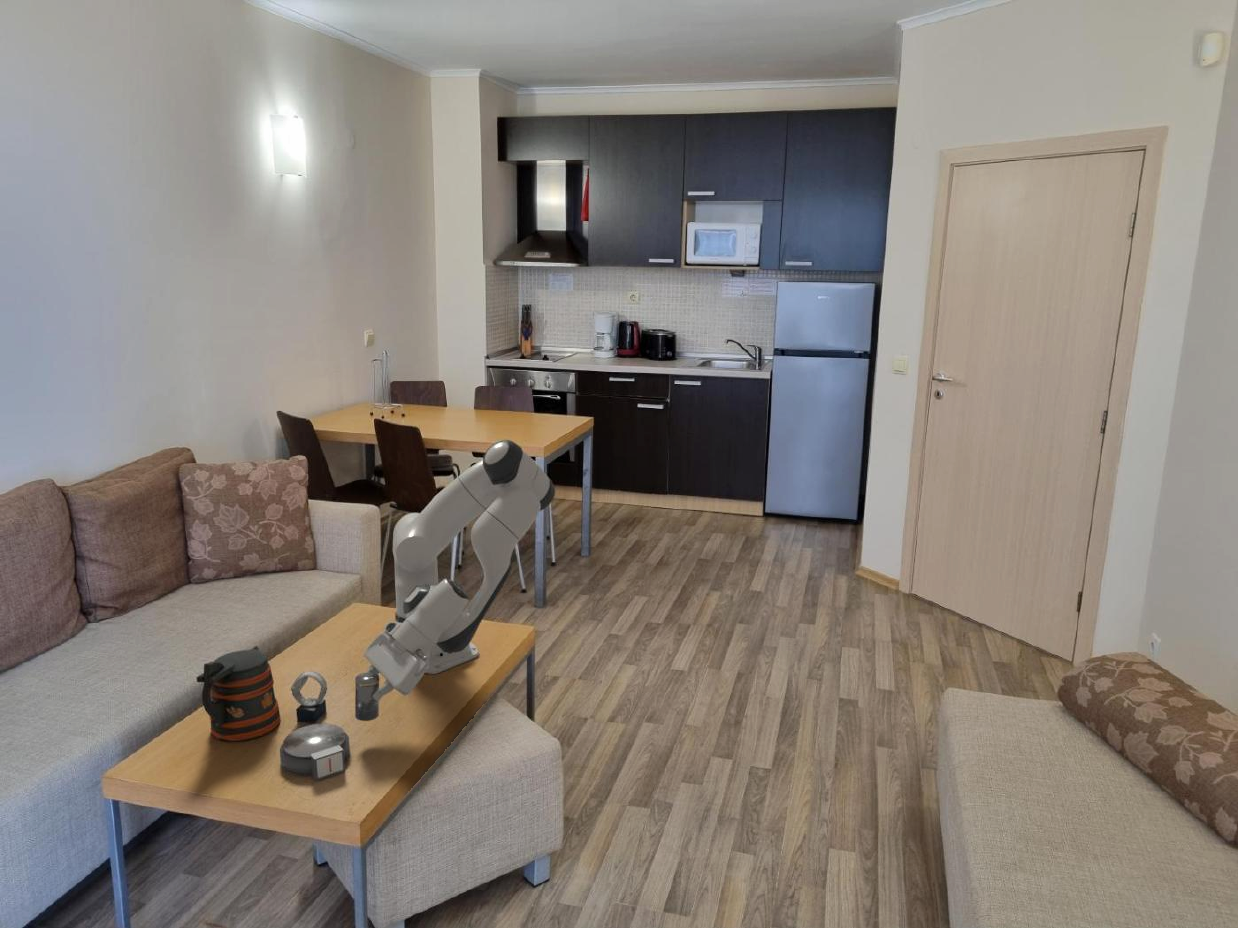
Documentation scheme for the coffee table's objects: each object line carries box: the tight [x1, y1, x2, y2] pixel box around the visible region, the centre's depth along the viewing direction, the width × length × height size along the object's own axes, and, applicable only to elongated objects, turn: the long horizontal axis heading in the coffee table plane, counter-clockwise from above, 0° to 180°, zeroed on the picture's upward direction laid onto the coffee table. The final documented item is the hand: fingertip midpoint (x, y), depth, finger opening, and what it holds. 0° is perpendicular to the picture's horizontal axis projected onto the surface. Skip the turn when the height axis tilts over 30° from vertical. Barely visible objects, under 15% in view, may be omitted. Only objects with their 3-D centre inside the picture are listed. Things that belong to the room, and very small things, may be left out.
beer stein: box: [196, 645, 282, 742], centre depth 196 cm, size 19×15×20 cm
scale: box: [279, 732, 351, 782], centre depth 186 cm, size 14×16×5 cm
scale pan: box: [282, 723, 346, 758], centre depth 187 cm, size 13×13×1 cm
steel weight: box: [354, 672, 380, 722], centre depth 193 cm, size 5×5×9 cm
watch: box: [290, 670, 328, 724], centre depth 203 cm, size 6×8×11 cm
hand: (368, 692), depth 193 cm, fingers closed on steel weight, 5 cm apart
